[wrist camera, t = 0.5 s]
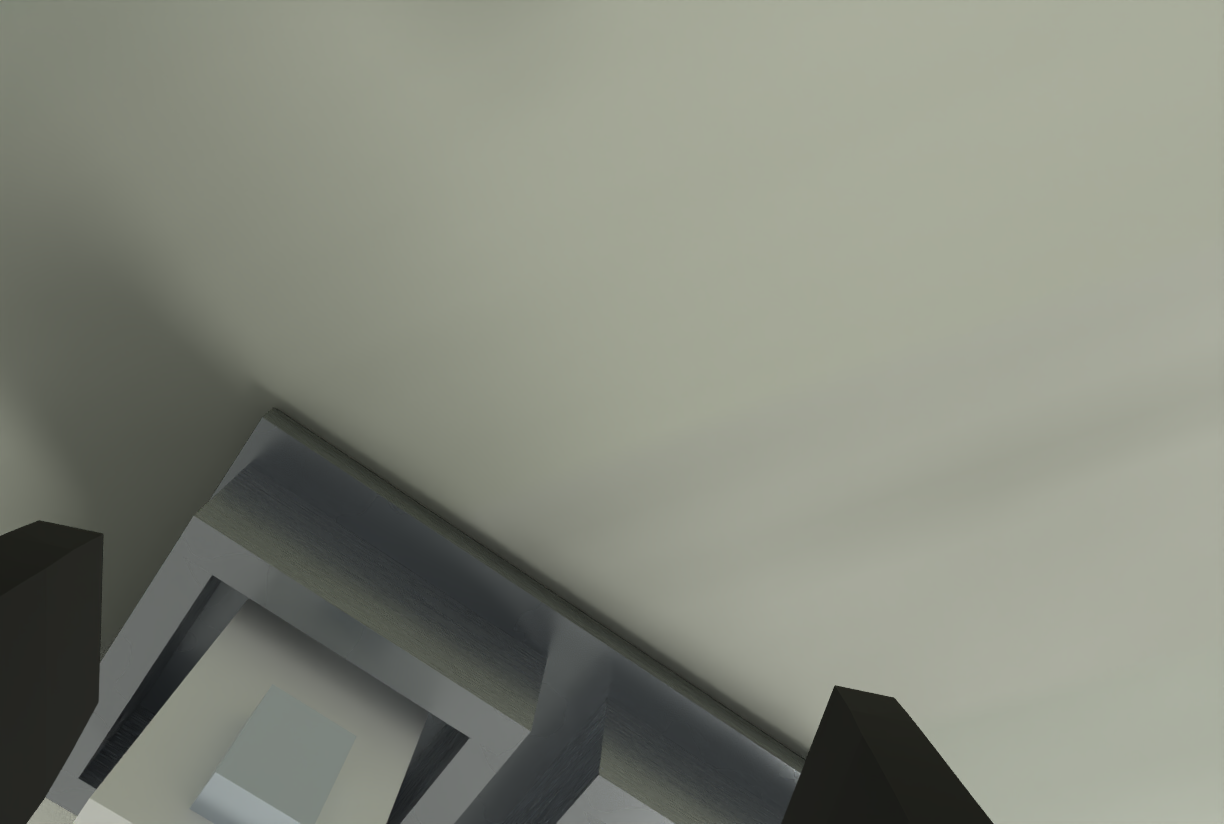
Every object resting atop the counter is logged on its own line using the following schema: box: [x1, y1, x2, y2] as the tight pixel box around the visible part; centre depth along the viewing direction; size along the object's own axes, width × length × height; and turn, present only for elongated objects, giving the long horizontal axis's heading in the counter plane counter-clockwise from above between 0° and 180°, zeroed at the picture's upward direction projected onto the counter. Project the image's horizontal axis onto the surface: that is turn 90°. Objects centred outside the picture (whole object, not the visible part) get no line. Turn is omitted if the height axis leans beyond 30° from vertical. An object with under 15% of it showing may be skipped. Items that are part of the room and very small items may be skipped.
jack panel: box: [46, 408, 806, 824], centre depth 22 cm, size 9×16×3 cm, turn 55°
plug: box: [73, 598, 429, 824], centre depth 18 cm, size 5×4×7 cm
